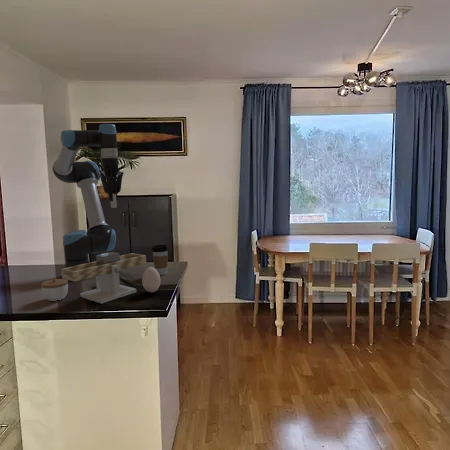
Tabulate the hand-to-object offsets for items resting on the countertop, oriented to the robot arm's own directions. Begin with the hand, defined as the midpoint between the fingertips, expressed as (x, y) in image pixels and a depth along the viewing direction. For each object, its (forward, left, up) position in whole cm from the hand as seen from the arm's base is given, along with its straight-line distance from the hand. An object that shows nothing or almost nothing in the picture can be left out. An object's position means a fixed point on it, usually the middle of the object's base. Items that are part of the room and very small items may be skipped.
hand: (113, 207), depth 198 cm
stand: (+14, -16, -36) cm, 42 cm away
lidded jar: (0, -33, -37) cm, 49 cm away
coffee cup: (+8, +20, -37) cm, 42 cm away
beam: (+14, -16, -24) cm, 32 cm away
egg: (+28, -3, -37) cm, 46 cm away
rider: (+14, -15, -23) cm, 31 cm away
